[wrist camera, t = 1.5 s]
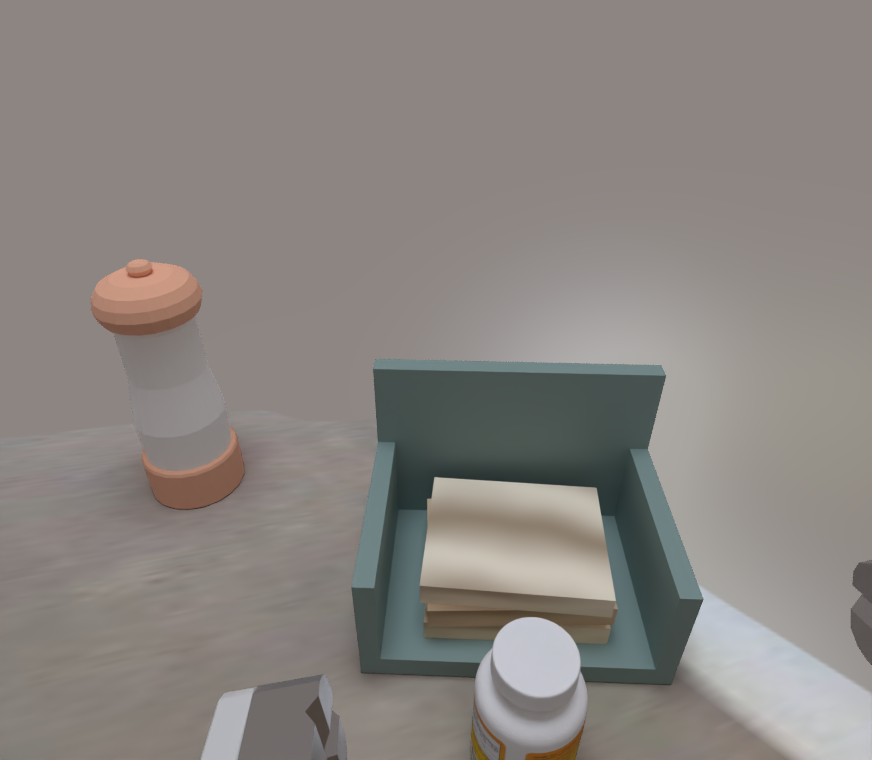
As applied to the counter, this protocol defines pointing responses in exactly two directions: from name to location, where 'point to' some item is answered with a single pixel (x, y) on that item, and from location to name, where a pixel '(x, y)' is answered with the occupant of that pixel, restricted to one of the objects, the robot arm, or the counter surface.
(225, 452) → the pepper shaker
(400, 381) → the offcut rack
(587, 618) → the board
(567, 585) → the birch offcut top
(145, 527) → the counter surface
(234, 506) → the counter surface
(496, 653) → the supplement bottle
